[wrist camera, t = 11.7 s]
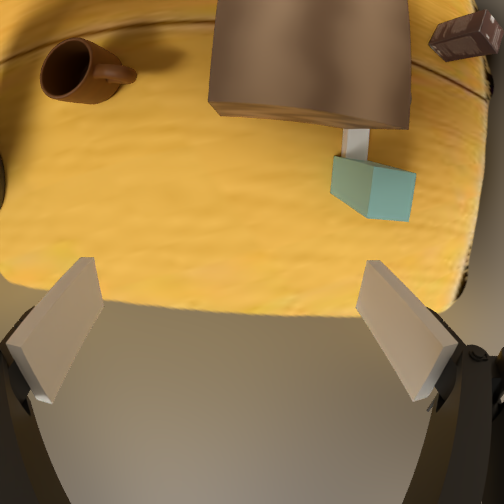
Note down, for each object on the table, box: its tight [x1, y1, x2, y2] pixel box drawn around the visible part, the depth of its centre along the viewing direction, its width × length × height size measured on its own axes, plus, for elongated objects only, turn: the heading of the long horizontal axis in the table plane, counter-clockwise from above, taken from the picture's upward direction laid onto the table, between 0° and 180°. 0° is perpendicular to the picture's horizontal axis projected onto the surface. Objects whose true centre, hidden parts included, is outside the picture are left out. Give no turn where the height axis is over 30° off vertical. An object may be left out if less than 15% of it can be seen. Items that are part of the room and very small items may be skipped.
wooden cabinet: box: [208, 0, 411, 130], centre depth 22 cm, size 15×18×18 cm
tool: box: [330, 128, 416, 222], centre depth 28 cm, size 5×18×12 cm, turn 177°
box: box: [429, 10, 503, 62], centre depth 22 cm, size 6×4×12 cm
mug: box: [40, 38, 137, 104], centre depth 25 cm, size 12×8×9 cm, turn 72°
